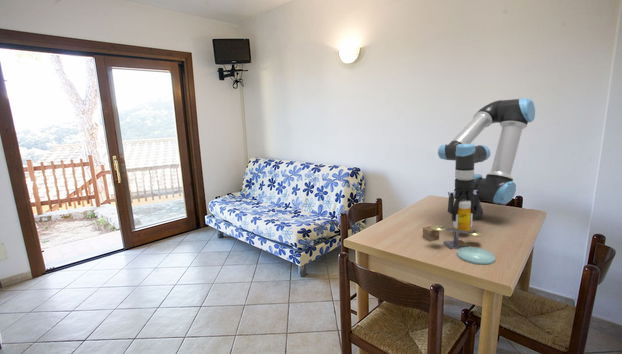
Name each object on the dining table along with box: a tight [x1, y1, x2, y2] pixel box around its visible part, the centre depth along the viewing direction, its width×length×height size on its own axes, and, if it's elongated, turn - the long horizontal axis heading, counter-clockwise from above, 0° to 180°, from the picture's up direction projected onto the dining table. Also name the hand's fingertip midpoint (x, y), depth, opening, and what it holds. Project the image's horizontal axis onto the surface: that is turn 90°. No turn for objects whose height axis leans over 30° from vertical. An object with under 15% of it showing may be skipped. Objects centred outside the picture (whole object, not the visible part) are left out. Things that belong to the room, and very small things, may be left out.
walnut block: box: [422, 225, 440, 242], centre depth 134 cm, size 5×5×5 cm
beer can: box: [454, 199, 471, 231], centre depth 135 cm, size 6×6×15 cm
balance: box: [430, 224, 484, 250], centre depth 126 cm, size 22×7×9 cm, turn 92°
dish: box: [456, 246, 496, 265], centre depth 115 cm, size 13×13×1 cm
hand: (462, 226), depth 136 cm, fingers closed on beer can, 6 cm apart
